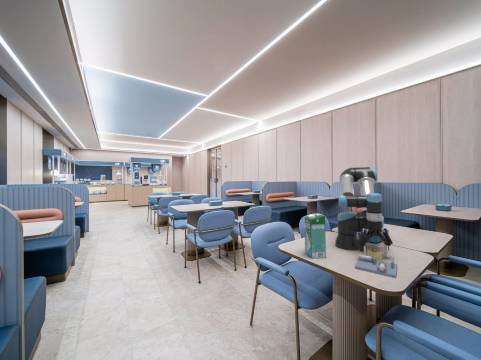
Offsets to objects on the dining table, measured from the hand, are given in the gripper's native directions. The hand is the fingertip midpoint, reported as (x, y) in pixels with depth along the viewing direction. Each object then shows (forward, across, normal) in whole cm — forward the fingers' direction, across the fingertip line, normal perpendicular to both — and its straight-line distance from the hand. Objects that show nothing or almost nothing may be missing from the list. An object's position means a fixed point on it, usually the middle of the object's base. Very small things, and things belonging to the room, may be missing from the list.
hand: (374, 257), depth 117 cm
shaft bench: (+1, -7, -10) cm, 12 cm away
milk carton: (+1, -31, +11) cm, 33 cm away
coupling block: (+1, 0, 0) cm, 1 cm away
